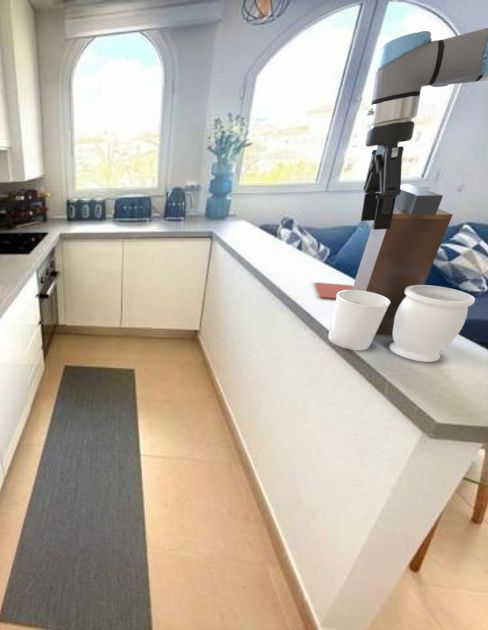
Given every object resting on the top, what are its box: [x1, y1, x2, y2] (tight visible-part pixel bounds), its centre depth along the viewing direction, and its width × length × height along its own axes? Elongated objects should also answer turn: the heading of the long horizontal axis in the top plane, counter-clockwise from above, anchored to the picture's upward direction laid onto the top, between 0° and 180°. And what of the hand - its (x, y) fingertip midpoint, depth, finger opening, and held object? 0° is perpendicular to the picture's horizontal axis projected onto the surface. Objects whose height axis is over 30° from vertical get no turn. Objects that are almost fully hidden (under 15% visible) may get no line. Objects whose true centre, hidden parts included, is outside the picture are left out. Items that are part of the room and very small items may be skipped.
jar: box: [389, 284, 476, 363], centre depth 76 cm, size 11×10×15 cm
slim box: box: [394, 184, 444, 215], centre depth 81 cm, size 4×20×4 cm, turn 153°
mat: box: [315, 282, 353, 300], centre depth 111 cm, size 10×13×1 cm
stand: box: [352, 206, 453, 337], centre depth 85 cm, size 10×11×30 cm
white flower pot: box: [327, 290, 390, 351], centre depth 83 cm, size 10×10×12 cm
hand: (374, 224), depth 81 cm, fingers open, 13 cm apart
